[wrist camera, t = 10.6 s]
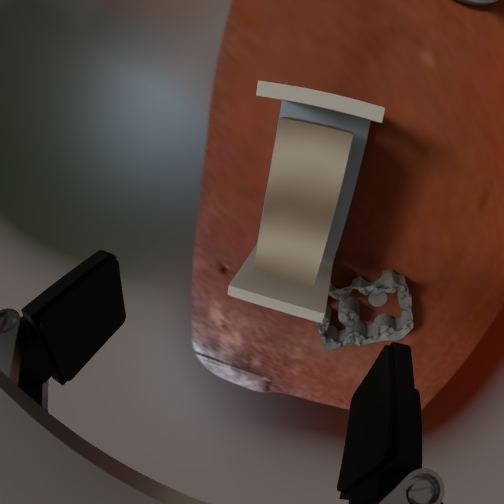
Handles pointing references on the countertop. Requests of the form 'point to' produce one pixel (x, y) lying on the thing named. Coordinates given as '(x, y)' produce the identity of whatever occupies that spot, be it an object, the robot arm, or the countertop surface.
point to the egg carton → (350, 313)
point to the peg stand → (358, 121)
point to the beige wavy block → (301, 198)
